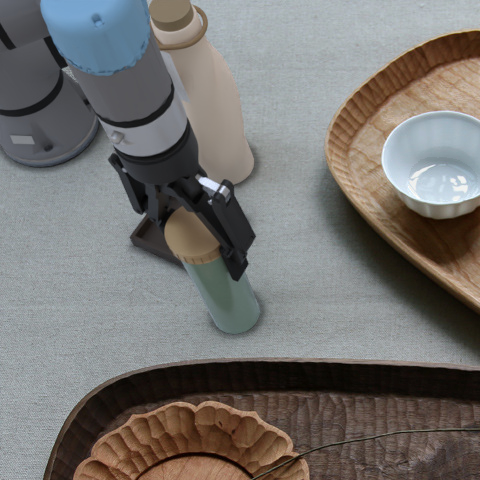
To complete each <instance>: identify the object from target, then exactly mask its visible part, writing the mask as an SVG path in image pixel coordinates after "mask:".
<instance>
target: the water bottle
mask: <svg viewBox="0 0 480 480" xmlns="http://www.w3.org/2000/svg"><path fill="white" fill-rule="evenodd" d="M148 8H149V14H150V23H149V24H150V26H151V29H152V31H153V34H154V36H155V39H156V41H157V44H158V47H159V49H160V52H161V55H162V57H163V60H164V63H165V65H166V68H167V71H168V72H169V74H170V76H171V78H172V80H173V83H174V85H175V87H176V90H177V92H178V94H179V97H180V99H181V101H182V104H183V106H184V108H185V111H186V115H187V117H188V119H189V122H190V124H191V127H192V129H193V132H194V134H195V137H196V139H197V142H198V148H199V156H198V159H199V164H200V166H201V167H202V168H203V169H204V170H205V172H206V173H207V176H208V179H210V180H212V181H214V182H216V183H218V184H219V183H221V182H222V181H223V180H224V179H227V180H229V181H230V182H232V184H233V185H237V184H240V183H242V182H243V181H245V180H246V179H247V178H248V177H249V176H250V175H251V174H252V172H253V170H254V167H255V158H254V155H253V152H252V150H251V147H250V145H249V142H248V140H247V137H246V135H245V124H244V116H243V110H242V102H241V97H240V92H239V89H238V85H237V83H236V80H235V78H234V76H233V72H232V70H231V68H230V67H229V65H228V63H227V61H226V59H225V58H224V56H223V54H221V53H220V52H219V50H217V48H216V47H214V46H213V45H212V43H211V42H210V41H209V40H208V38H207V35H206V32H207V30H208V28H209V27H208V26H209V19H208V16H207V14H206V12H205V11H204V10H203V9H202V8H201V7H199V6H197V5H195V4H192V3H191V0H151V2H150V3H149V4H148ZM200 17H201V18H200ZM201 20H202V21H201Z"/></svg>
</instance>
